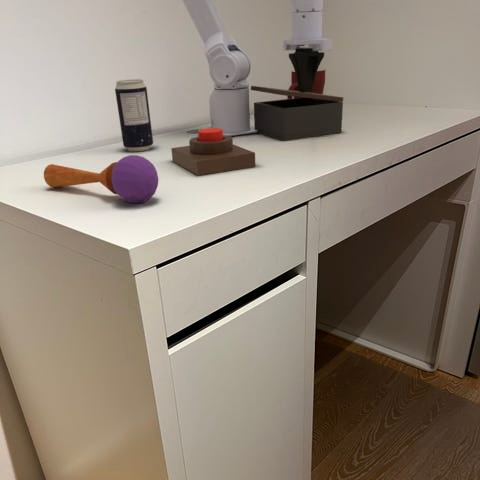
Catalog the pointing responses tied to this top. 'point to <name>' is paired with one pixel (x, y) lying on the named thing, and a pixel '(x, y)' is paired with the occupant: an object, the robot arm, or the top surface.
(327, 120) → the dark gray box
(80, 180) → the purple maraca
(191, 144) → the panel
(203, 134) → the button
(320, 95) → the brown box lid
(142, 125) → the beverage can
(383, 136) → the top surface
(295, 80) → the mug
